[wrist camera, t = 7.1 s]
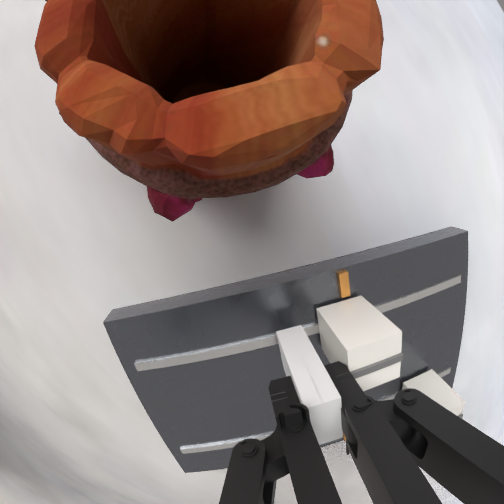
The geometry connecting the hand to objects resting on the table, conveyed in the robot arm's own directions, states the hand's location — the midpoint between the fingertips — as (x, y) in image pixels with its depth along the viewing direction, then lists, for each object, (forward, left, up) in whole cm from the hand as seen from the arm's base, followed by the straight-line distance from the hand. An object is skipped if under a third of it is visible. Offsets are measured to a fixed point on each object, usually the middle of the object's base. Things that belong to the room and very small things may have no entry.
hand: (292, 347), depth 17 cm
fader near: (+3, 0, -1) cm, 4 cm away
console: (+2, -4, -3) cm, 6 cm away
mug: (-3, +16, -4) cm, 16 cm away
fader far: (+10, -9, -1) cm, 14 cm away
